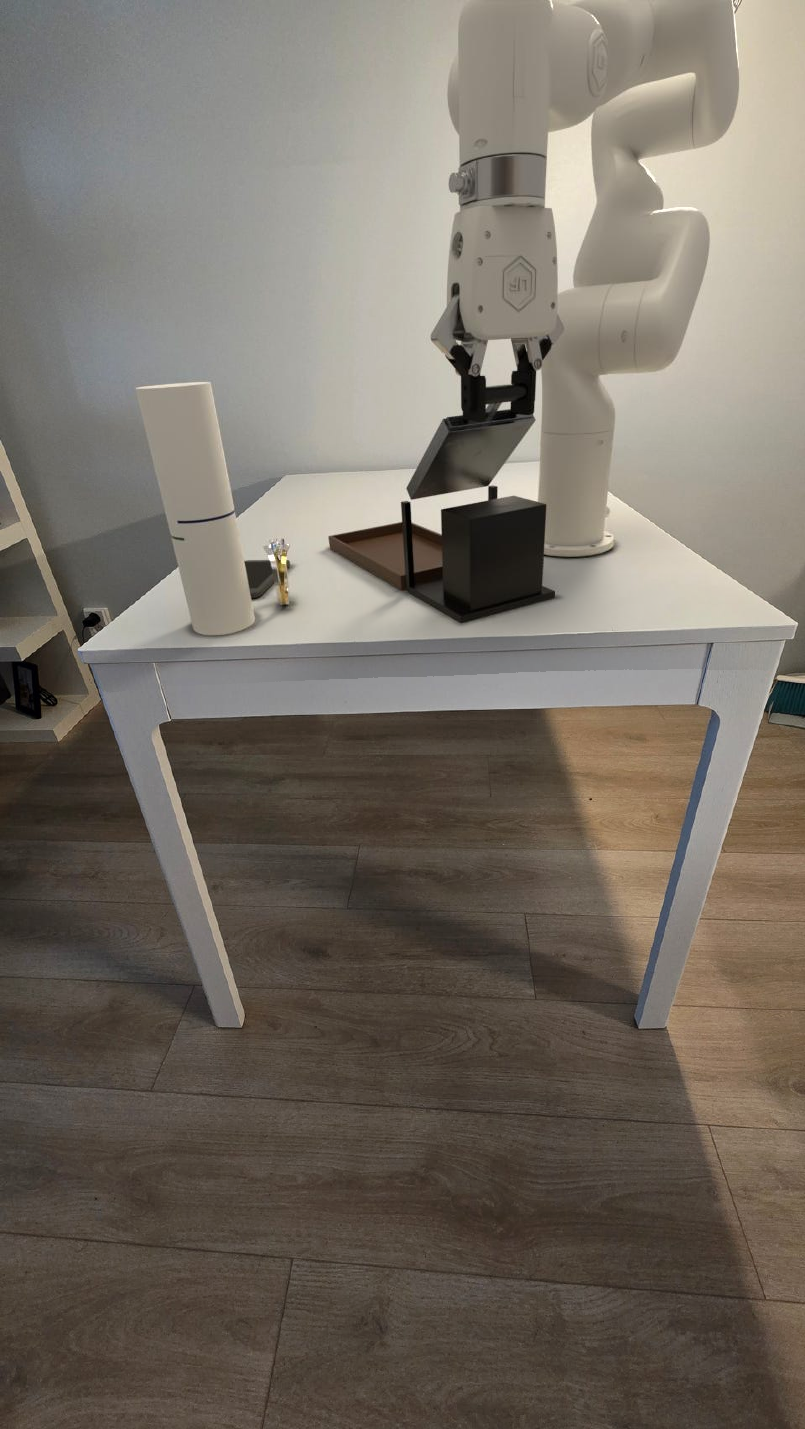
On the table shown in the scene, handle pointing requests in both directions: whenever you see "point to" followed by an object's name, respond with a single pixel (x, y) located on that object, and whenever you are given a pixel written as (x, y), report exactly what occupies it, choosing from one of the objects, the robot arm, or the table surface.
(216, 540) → the cylindrical container
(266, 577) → the cell phone
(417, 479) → the dark tilted plate
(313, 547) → the table surface
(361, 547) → the tray
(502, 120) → the robot arm
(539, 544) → the stand
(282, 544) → the ring
